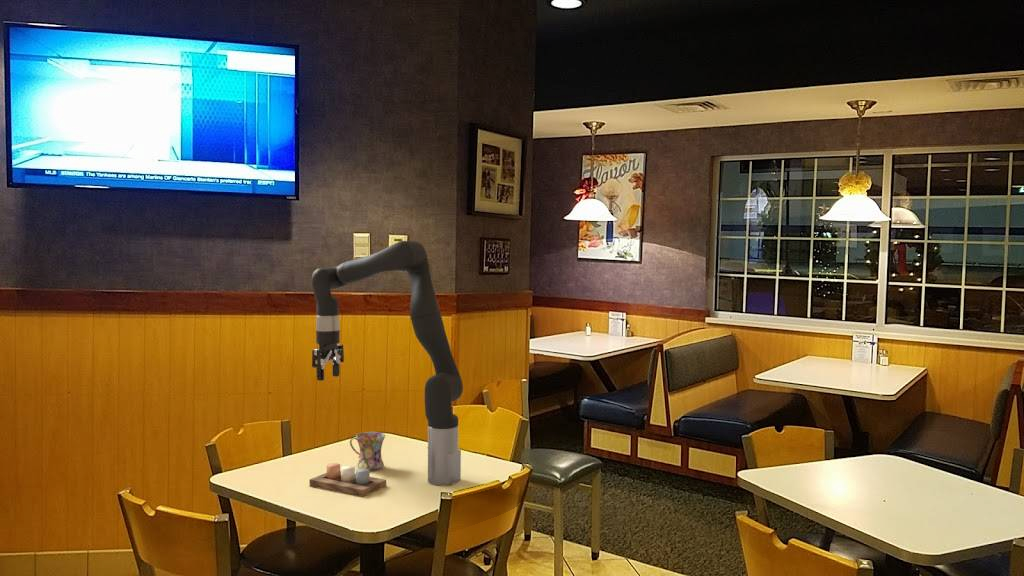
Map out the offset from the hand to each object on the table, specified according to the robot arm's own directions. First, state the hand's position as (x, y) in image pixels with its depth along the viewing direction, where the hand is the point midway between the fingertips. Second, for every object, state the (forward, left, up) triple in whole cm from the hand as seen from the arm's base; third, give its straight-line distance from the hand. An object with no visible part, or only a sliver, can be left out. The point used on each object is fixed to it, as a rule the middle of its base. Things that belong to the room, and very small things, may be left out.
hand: (328, 378), depth 260 cm
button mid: (-21, +16, -26) cm, 38 cm away
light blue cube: (-27, +16, -26) cm, 41 cm away
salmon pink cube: (-16, +17, -26) cm, 35 cm away
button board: (-21, +17, -28) cm, 39 cm away
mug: (-14, -1, -28) cm, 32 cm away
